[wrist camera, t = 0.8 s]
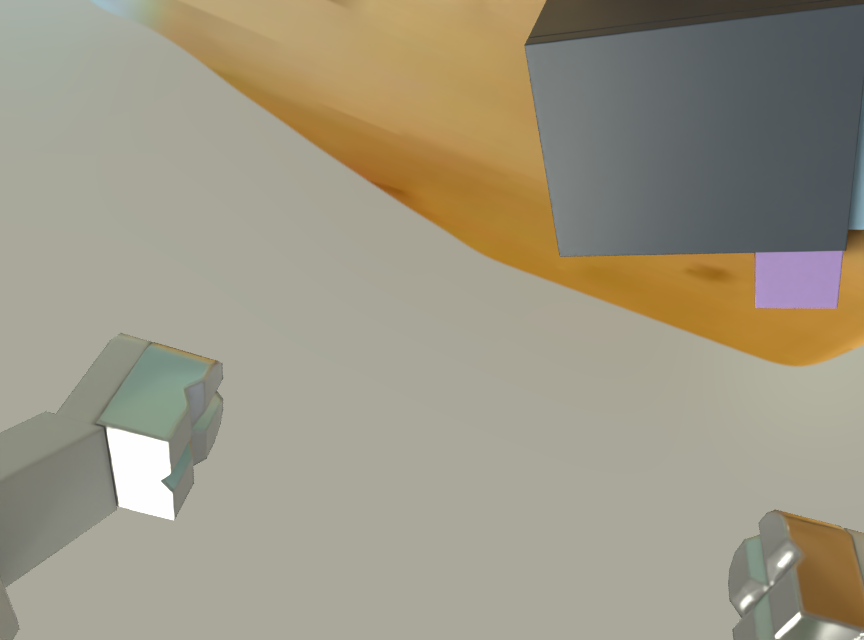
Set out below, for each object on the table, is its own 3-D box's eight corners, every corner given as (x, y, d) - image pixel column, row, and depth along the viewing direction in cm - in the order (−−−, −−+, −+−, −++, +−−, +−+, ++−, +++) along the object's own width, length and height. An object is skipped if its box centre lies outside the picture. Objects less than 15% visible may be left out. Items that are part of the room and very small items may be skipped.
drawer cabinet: (850, -76, 38) (872, 2, 31) (831, 147, 46) (846, 251, 38) (561, -31, 43) (524, 44, 36) (586, 162, 51) (559, 257, 44)
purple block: (756, 201, 49) (756, 248, 46) (837, 197, 47) (843, 246, 44) (754, 259, 52) (755, 308, 48) (831, 258, 50) (837, 308, 47)
